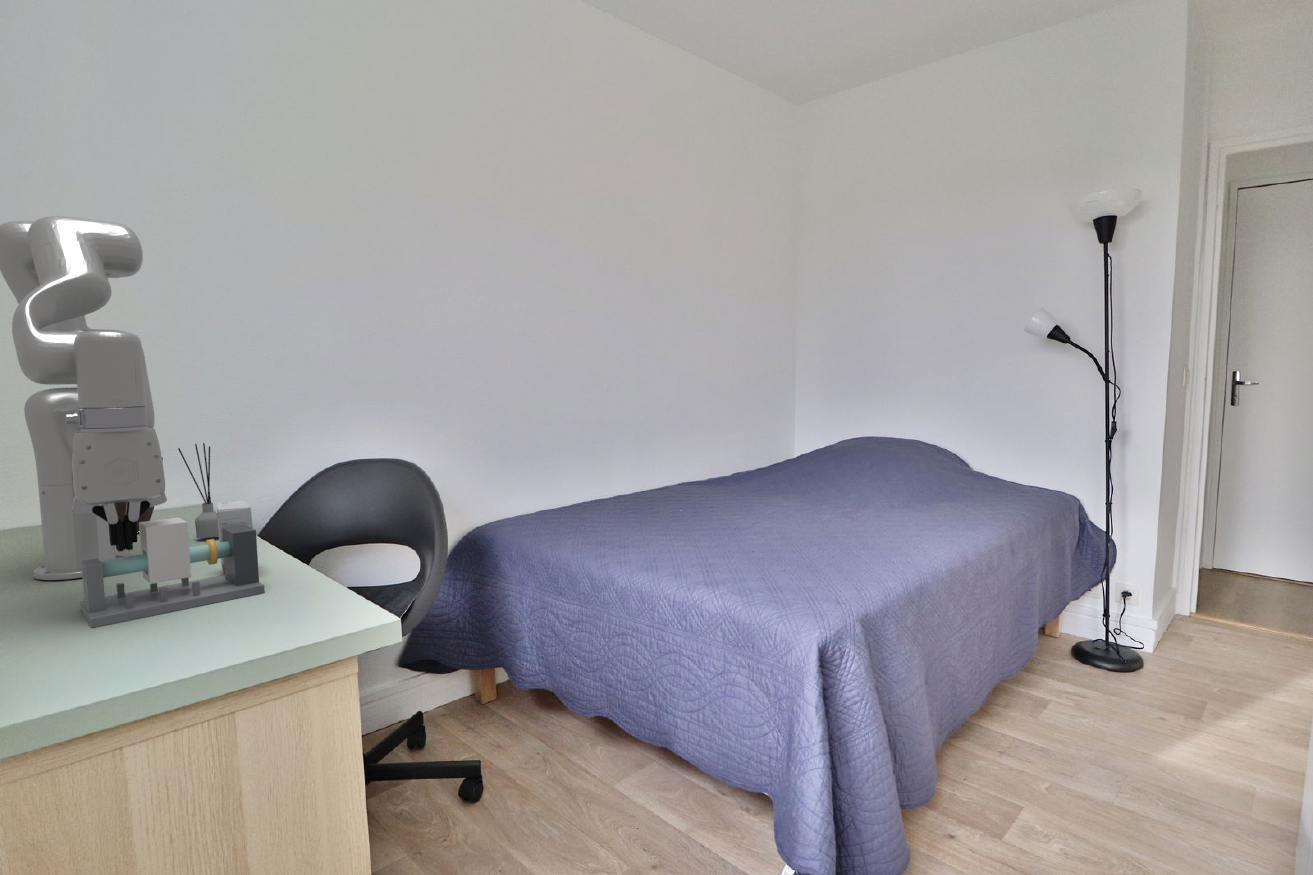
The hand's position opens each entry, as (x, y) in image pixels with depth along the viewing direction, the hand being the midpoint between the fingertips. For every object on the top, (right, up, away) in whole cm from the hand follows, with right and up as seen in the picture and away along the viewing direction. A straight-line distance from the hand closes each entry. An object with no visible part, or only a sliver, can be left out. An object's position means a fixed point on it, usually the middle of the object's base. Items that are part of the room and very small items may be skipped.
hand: (124, 548), depth 101 cm
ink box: (+5, -7, +20) cm, 21 cm away
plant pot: (-39, -5, +53) cm, 66 cm away
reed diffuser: (-18, -5, +46) cm, 49 cm away
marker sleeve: (+3, -5, +4) cm, 7 cm away
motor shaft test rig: (+4, -9, +5) cm, 11 cm away
